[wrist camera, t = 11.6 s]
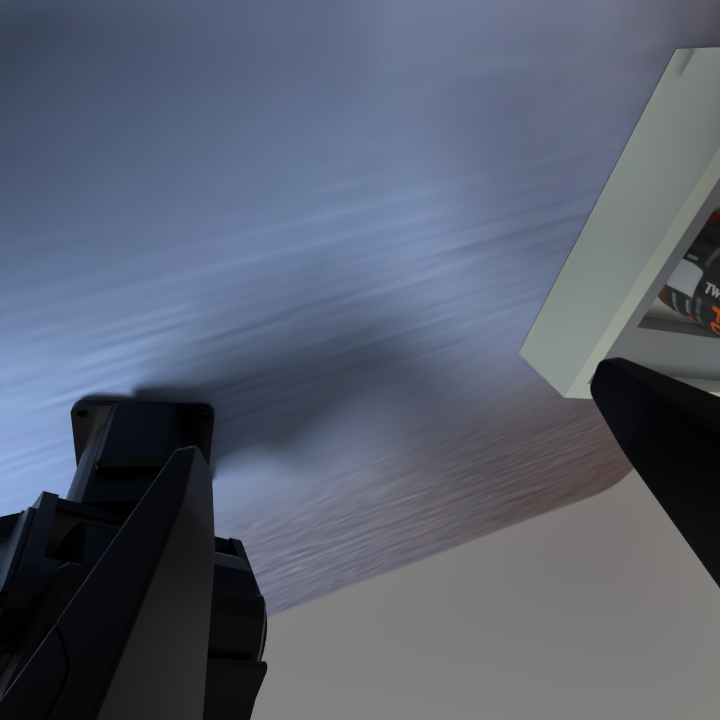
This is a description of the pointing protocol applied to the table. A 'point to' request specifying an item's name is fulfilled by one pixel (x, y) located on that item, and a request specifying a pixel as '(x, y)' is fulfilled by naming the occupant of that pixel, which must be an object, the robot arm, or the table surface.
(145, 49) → the table surface
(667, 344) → the bore box
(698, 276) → the supplement bottle
